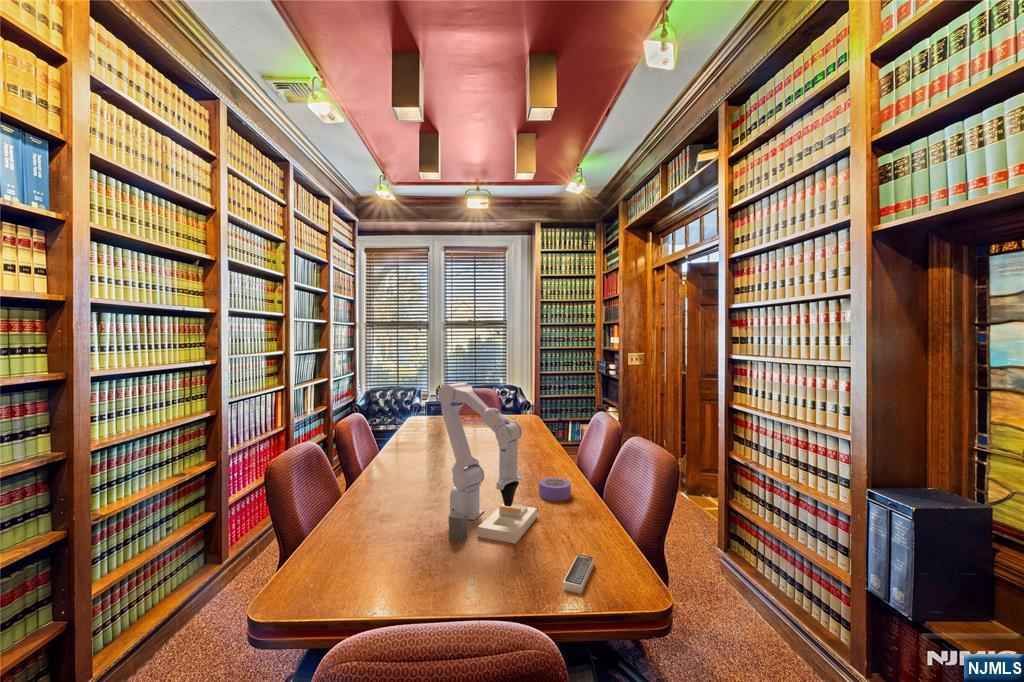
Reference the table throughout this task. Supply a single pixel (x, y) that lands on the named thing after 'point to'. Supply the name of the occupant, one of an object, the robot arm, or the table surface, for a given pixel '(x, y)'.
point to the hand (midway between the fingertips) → (508, 505)
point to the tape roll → (554, 489)
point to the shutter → (512, 510)
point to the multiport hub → (578, 574)
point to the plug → (458, 527)
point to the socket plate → (506, 526)
